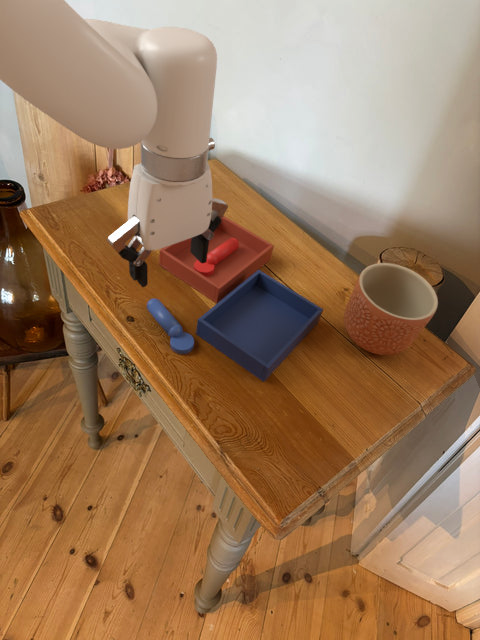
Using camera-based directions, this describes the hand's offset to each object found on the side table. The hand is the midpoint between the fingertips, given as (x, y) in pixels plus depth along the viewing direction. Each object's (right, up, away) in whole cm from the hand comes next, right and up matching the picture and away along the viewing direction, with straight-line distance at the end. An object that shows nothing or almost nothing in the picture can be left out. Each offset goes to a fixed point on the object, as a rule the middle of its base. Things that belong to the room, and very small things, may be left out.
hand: (169, 268), depth 65 cm
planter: (+32, -10, +13) cm, 36 cm away
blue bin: (+13, -9, +10) cm, 19 cm away
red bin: (+6, +3, +19) cm, 20 cm away
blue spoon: (-1, -9, +7) cm, 11 cm away
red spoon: (+6, +4, +19) cm, 20 cm away
